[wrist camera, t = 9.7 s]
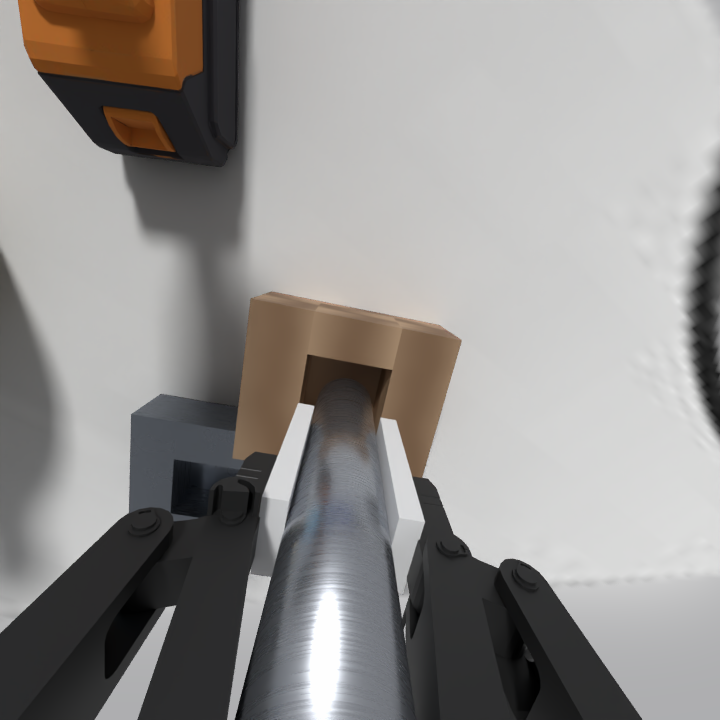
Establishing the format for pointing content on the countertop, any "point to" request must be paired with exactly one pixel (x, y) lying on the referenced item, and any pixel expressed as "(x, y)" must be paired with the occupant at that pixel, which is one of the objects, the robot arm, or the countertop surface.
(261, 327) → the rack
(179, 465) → the socket block
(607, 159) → the countertop surface
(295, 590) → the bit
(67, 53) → the power drill
